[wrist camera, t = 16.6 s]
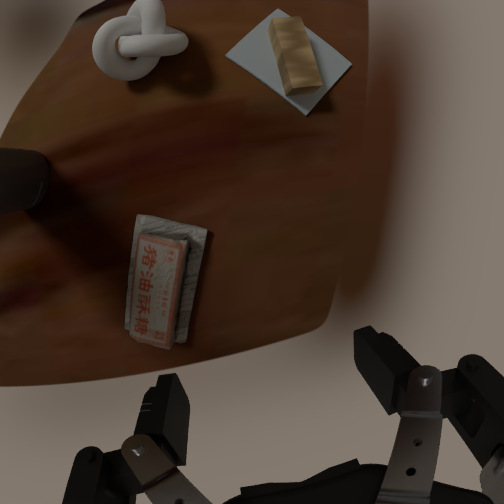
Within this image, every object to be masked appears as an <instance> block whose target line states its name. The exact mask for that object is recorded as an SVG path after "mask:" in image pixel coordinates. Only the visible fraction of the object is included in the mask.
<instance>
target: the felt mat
mask: <svg viewBox="0 0 504 504" xmlns="http://www.w3.org/2000/svg"><path fill="white" fill-rule="evenodd" d="M279 17H290V16H289V15H287V14H286V13H284V12H283V11H281V10H279V9H277V10H275V11H274V12H273V13H272V14H270V15H269V16H268V17H267V18H266V19H264V20H263V21H262V22H261V23H260V24H259V25H257V26H256V27H255V28H254V29H253V30H252V31H251V32H249V33H248V34H247V35H246V36H245V37H244V38H243V39H242V40H241V41H240V42H239V43H238V44H236V45H235V46H234V47H233V48H232V49H231V50H230V51H229V52H228V53H227V54H226V55H225V57H226V58H228V59H230V60H231V61H233V62H234V63H236V64H237V65H239V66H240V67H242V68H243V69H244V70H246V71H247V72H249V73H250V74H252V75H253V76H254V77H256V78H257V79H259V80H260V81H261V82H263V83H264V84H266V85H267V86H268V87H270V88H271V89H272V90H274V91H275V92H276V93H277V94H279V95H280V96H281V97H283V98H284V99H285V100H286V101H288V102H289V103H290V104H291V105H293V106H294V107H295V108H296V109H298V110H299V111H300V112H301V113H302V114H304V115H305V116H306V115H307V114H308V113H309V112H310V111H311V109H312V108H313V107H314V106H315V105H316V104H317V103H318V101H319V100H320V99H321V98H322V97H323V96H324V95H325V93H326V92H327V91H328V90H329V89H330V88H331V87H332V86H333V84H334V83H335V82H336V81H337V80H338V79H339V78H340V77H341V76H342V74H343V73H344V72H345V71H346V70H347V69H348V68H349V67H350V66H351V65H352V64H351V63H350V62H349V61H348V60H347V59H346V58H344V57H343V56H342V55H341V54H340V53H338V52H337V51H336V50H335V49H334V48H332V47H331V46H330V45H329V44H327V43H326V42H325V41H324V40H322V39H321V38H320V37H318V36H317V35H316V34H314V33H313V32H312V31H310V30H309V29H308V28H306V27H305V26H304V27H305V30H306V32H307V35H308V38H309V41H310V44H311V48H312V51H313V54H314V57H315V60H316V64H317V67H318V70H319V74H320V77H321V81H322V85H323V86H321V87H320V88H319V89H318V90H317V91H315V92H314V93H313V94H302V95H293V96H285V92H284V88H283V85H282V81H281V77H280V73H279V70H278V66H277V62H276V59H275V55H274V52H273V48H272V45H271V42H270V38H269V35H268V32H267V30H268V28H269V25H270V22H271V19H272V18H279Z"/></svg>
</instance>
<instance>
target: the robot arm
mask: <svg viewBox="0 0 504 504" xmlns="http://www.w3.org/2000/svg"><path fill="white" fill-rule="evenodd" d="M48 185H49V168H48V164H47V162H46V159H45V158H44V156H43V155H42V154H41V153H39V152H38V151H35V150H24V149H15V148H0V216H2V215H6V214H10V213H14V212H18V211H22V210H26V209H30V208H33V207H35V206H37V205H38V204H39V203H40V202H41V201H42V200H43V198H44V196H45V194H46V192H47V189H48ZM354 360H355V364H356V367H357V369H358V370H359V372H360V373H361V375H362V376H363V378H364V379H365V381H366V382H367V384H368V385H369V387H370V388H371V390H372V391H373V392H374V394H375V395H376V397H377V399H378V400H379V402H380V403H381V405H382V406H383V407H384V409H385V411H386V412H387V414H388V415H391V414H394V413H396V412H397V413H398V414H399V415H400V417H401V419H400V423H399V428H398V432H397V435H396V439H395V443H394V447H393V450H392V454H391V457H390V460H389V464H388V466H387V465H382V464H362V465H360V464H359V462H358V460H357V458H356V459H353V460H351V461H348V462H345V463H342V464H339V465H336V466H333V467H330V468H328V469H326V470H324V471H322V472H320V473H318V474H316V475H314V476H312V477H311V478H308V479H307V480H304V481H302V482H293V483H292V482H291V483H290V482H289V483H265V484H259V485H254V486H247V487H241V488H240V490H241V495H238V496H236V497H233V498H231V499H229V500H228V501H226V502H224V503H223V504H504V377H503V376H502V375H501V374H500V373H499V372H498V371H497V370H496V369H495V368H494V367H493V366H492V365H490V363H488V362H487V361H486V360H485V359H484V358H483V357H481V356H479V355H475V354H470V355H466V356H464V357H462V358H461V359H460V360H459V362H458V366H457V368H454V369H449V370H445V371H439V369H437V368H436V367H433V366H429V365H424V366H421V365H420V364H419V363H418V362H417V361H416V360H415V359H414V358H413V357H412V356H411V355H410V354H409V353H408V352H407V351H406V350H405V349H403V347H402V346H401V345H400V344H398V342H397V341H396V340H395V339H394V338H393V337H392V336H391V335H388V334H386V333H384V332H382V333H379V334H378V333H377V332H376V331H375V330H374V329H373V328H372V327H371V326H366V327H364V328H361V329H357V330H355V331H354ZM189 416H190V404H189V400H188V397H187V395H186V393H185V391H184V388H183V386H182V384H181V382H180V380H179V378H178V376H177V374H176V373H172V374H165V375H159V377H158V380H157V384H156V387H150V389H149V390H148V391H147V392H146V394H145V395H144V398H143V402H142V406H141V409H140V413H139V416H138V420H137V423H136V427H135V431H134V435H133V436H131V437H129V438H128V439H126V440H125V441H124V442H123V444H122V446H121V449H119V450H115V451H111V452H106V453H103V452H102V451H101V450H100V449H99V448H97V447H94V446H90V447H85V448H83V449H82V450H80V451H79V452H78V453H77V455H76V457H75V460H74V463H73V466H72V470H71V473H70V477H69V480H68V483H67V487H66V491H65V494H64V499H63V502H62V504H135V503H136V494H140V493H144V492H145V494H146V495H147V497H148V498H149V499H150V501H151V502H152V503H153V504H212V503H211V502H210V501H209V500H208V499H207V498H206V497H205V496H204V495H203V494H202V493H201V492H200V491H199V490H198V489H197V488H196V487H195V486H193V484H192V483H191V482H190V481H189V480H188V479H187V478H186V477H185V476H184V475H183V474H182V473H181V472H180V471H179V470H178V468H177V466H185V465H186V454H187V441H188V427H189ZM444 418H448V419H449V421H450V422H451V424H452V425H453V426H454V427H455V429H456V430H457V432H458V433H459V435H460V436H461V438H462V439H463V440H464V442H465V443H466V445H467V446H468V448H469V449H470V451H471V452H472V453H473V455H474V457H475V458H476V459H477V461H478V462H479V464H480V465H481V467H482V471H481V474H480V483H481V488H482V493H481V492H478V491H473V490H469V489H464V488H459V487H456V486H452V485H448V484H444V483H440V482H437V481H434V480H433V479H434V474H435V469H436V464H437V457H438V452H439V445H440V437H441V429H442V420H443V419H444Z"/></svg>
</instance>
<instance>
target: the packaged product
mask: <svg viewBox="0 0 504 504" xmlns="http://www.w3.org/2000/svg"><path fill="white" fill-rule="evenodd" d="M206 236H207V229H204V228H201V227H198V226H194V225H189V224H183V223H179V222H175V221H171V220H167V219H163V218H159V217H155V216H148V215H137V218H136V224H135V229H134V236H133V244H132V251H131V259H130V267H129V275H128V289H127V299H126V314H125V329H127V330H129V334H130V337H132V338H133V339H135V340H136V341H137V342H142V343H145V344H150V345H153V346H156V347H161V348H165V349H168V350H170V349H171V348H172V345H173V344H174V342H178V343H184V342H186V339H187V335H188V326H189V321H190V316H191V312H192V306H193V299H194V295H195V290H196V286H197V281H198V276H199V270H200V266H201V261H202V256H203V252H204V247H205V243H206Z"/></svg>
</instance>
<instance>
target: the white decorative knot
mask: <svg viewBox="0 0 504 504" xmlns="http://www.w3.org/2000/svg"><path fill="white" fill-rule="evenodd" d="M119 37H120V39H119V44H118V51H119V53H120V55H122V56H123V57H137V59H136V60H133V61H128V60H125V59H123V58H122V57H121V56H120V55H119V54H118V53H117V51H116V49H115V41H116V39H117V38H119ZM187 46H188V38H187V36H186V35H185V33H183V32H181V31H179V30H177V29H174V28H171V27H169V26H166V19H165V10H164V6H163V3H162V2H161V0H137V1H135V2H134V3H133V5H132V6H131V8H130V9H129V11H128V13H127V16H121V17H117V18H113V19H111V20H109V21H107V22H106V23H105V24H104V25H102V26H101V27H100V29H99V30H98V31H97V33H96V35H95V37H94V40H93V45H92V52H93V57H94V60H95V62H96V64H97V66H98V67H99V68H100V69H101V70H102V71H103V72H104V73H105V74H107V75H108V76H110V77H112V78H115V79H119V80H124V81H131V80H136V79H140V78H142V77H144V76H146V75H147V74H148V73H149V72H150V71H151V70H152V69H153V68H154V67H155V66H156V65H157V63H158V61H159V59H160V57H161V56H170V55H176V54H178V53H180V52H182V51H184V50H185V49H186V47H187Z"/></svg>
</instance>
